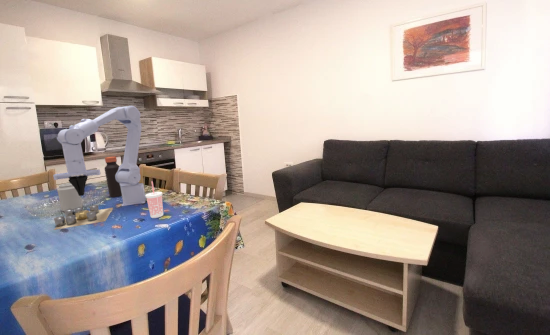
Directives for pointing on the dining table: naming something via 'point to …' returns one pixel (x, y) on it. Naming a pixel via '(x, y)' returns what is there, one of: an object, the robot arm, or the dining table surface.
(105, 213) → the board
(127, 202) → the robot arm
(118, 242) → the dining table surface
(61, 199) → the can
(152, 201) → the beverage cup
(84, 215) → the gold dome
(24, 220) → the dining table surface
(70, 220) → the metal pegs
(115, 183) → the bottle
